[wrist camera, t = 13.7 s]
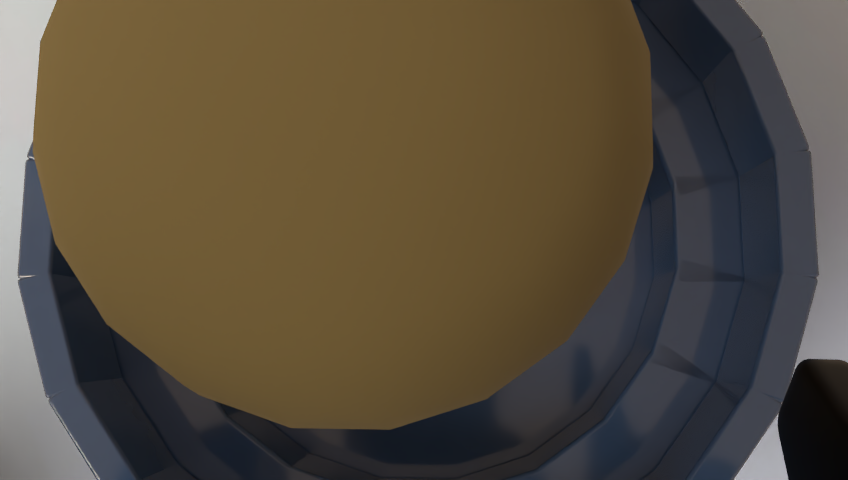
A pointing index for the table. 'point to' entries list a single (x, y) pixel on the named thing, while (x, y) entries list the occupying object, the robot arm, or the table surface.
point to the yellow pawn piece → (344, 189)
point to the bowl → (565, 366)
